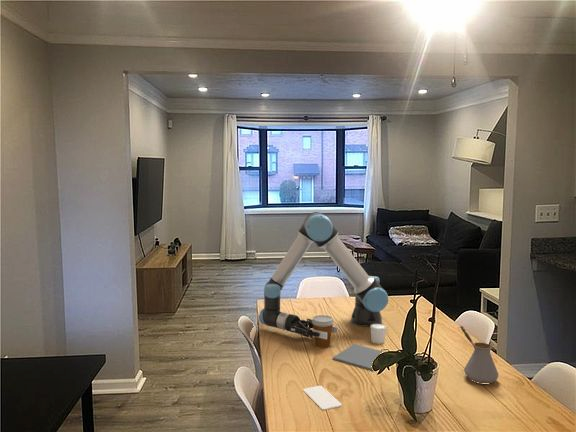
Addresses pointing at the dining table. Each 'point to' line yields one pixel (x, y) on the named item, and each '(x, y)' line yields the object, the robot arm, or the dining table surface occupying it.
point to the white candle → (378, 333)
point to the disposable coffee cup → (323, 329)
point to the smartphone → (322, 397)
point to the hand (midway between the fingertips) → (332, 333)
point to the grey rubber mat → (358, 356)
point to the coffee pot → (480, 363)
